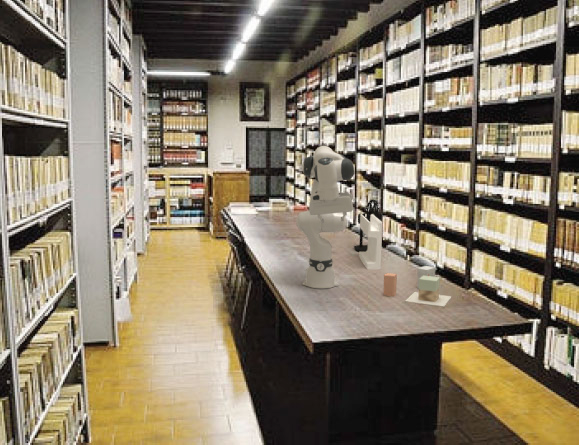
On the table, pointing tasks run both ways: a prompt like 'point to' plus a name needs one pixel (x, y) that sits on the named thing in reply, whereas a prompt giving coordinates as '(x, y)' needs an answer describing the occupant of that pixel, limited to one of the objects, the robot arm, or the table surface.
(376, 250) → the white stand
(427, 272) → the small box
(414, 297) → the felt pad
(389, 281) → the terracotta block
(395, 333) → the table surface
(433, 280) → the sage slab
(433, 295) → the wooden block
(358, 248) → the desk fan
